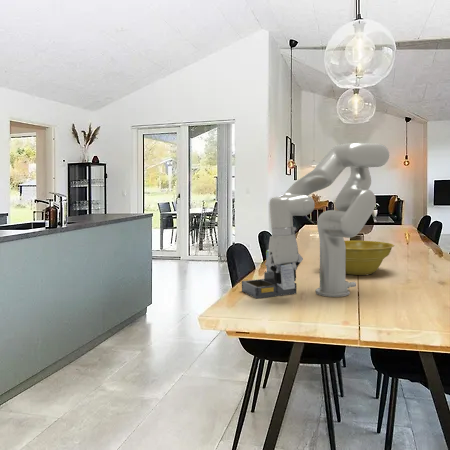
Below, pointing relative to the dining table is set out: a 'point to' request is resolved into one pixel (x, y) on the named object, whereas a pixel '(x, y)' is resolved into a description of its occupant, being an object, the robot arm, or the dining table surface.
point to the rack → (265, 287)
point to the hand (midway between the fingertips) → (285, 281)
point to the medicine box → (287, 276)
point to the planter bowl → (365, 256)
